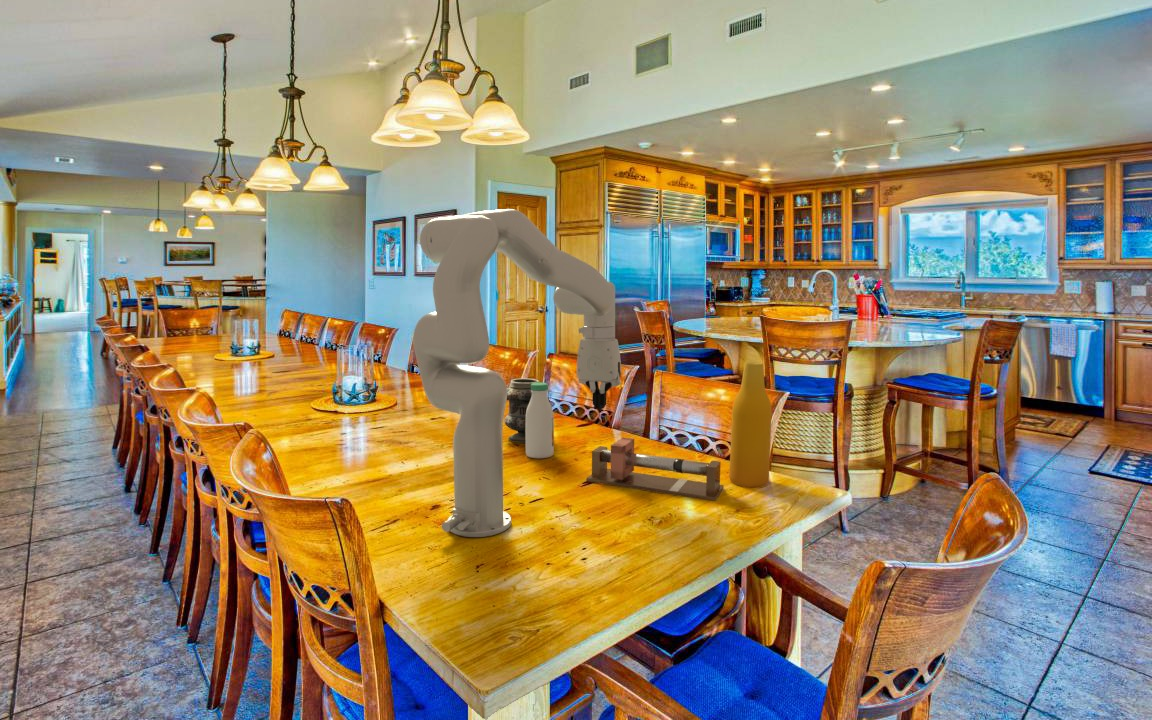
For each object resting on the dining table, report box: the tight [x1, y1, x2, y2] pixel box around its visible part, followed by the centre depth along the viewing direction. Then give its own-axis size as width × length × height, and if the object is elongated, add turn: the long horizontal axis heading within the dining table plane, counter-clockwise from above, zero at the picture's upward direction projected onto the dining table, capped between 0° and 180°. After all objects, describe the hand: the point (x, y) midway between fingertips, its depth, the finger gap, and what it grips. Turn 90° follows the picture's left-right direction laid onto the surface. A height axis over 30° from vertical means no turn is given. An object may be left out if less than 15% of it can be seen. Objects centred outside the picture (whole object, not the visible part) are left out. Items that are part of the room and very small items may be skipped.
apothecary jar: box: [503, 377, 540, 444], centre depth 189 cm, size 12×12×18 cm
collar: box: [610, 437, 635, 480], centre depth 152 cm, size 8×3×8 cm, turn 155°
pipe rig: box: [586, 445, 724, 502], centre depth 149 cm, size 9×31×7 cm, turn 65°
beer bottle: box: [728, 361, 773, 489], centre depth 150 cm, size 9×9×29 cm
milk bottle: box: [525, 382, 555, 459], centre depth 172 cm, size 8×8×20 cm
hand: (599, 408), depth 153 cm, fingers closed
